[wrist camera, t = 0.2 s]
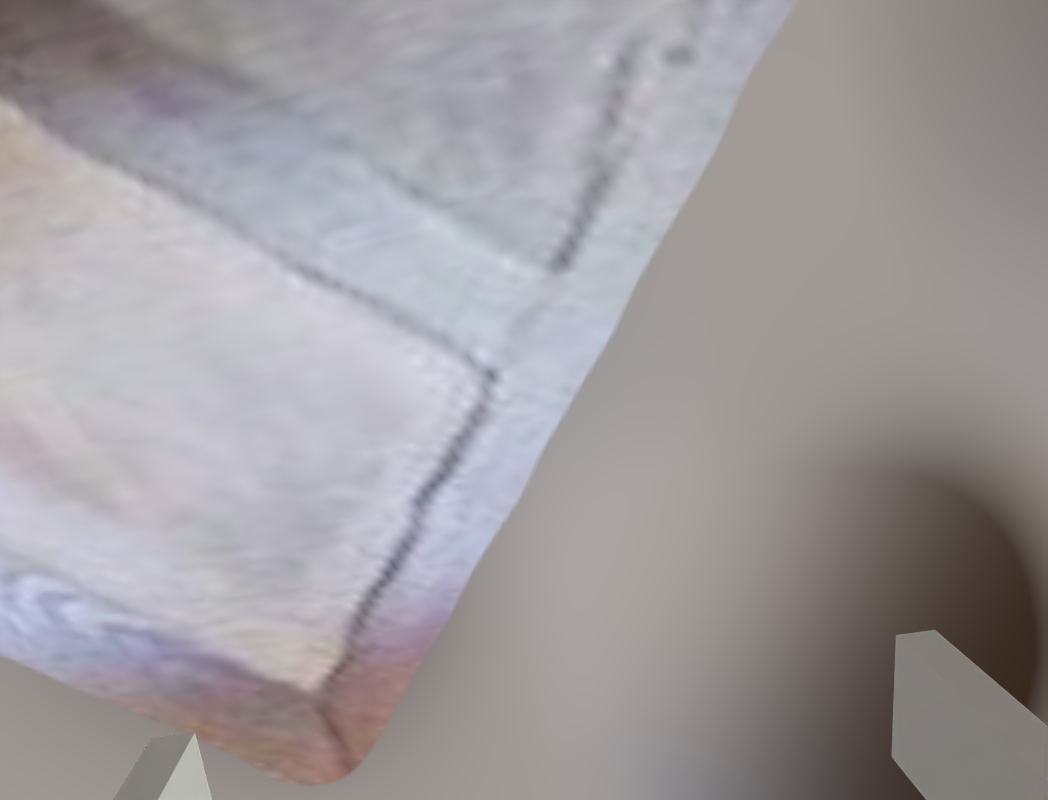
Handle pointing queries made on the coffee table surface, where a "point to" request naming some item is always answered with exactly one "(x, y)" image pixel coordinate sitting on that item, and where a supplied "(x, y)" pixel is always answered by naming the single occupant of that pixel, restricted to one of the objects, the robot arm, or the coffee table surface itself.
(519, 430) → the coffee table surface
